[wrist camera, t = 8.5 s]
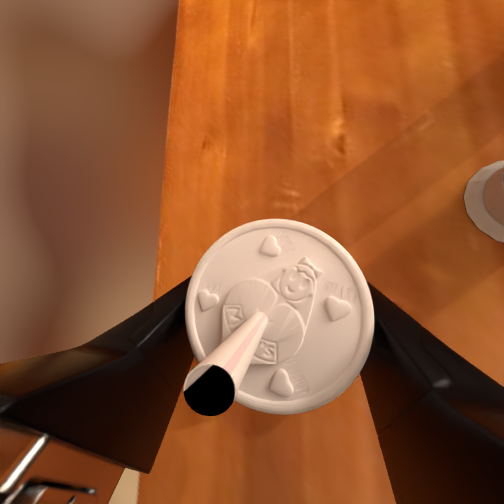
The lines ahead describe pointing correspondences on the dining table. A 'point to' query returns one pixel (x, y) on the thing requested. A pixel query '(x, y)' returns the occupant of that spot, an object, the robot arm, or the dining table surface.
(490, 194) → the french press
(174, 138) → the dining table surface
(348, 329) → the smoothie
